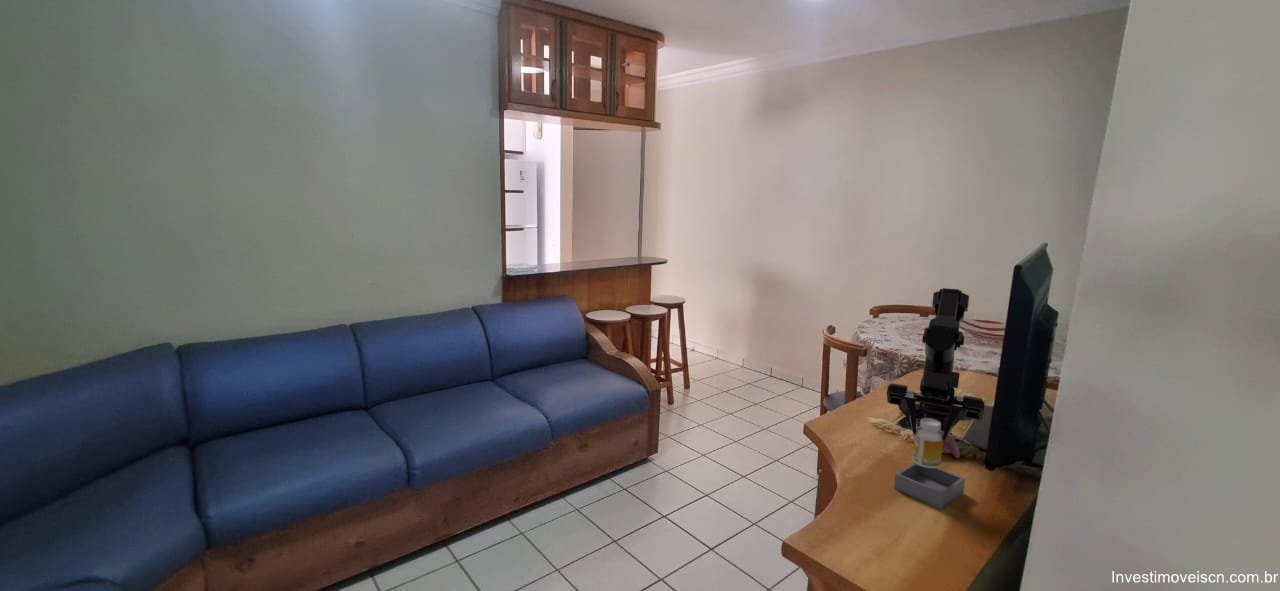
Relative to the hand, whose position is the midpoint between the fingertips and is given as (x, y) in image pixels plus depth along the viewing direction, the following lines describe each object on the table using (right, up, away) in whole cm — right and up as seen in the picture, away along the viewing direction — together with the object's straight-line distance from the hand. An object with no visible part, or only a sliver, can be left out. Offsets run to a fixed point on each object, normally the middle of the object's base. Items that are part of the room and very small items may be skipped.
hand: (928, 437), depth 116 cm
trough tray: (+2, -13, +3) cm, 13 cm away
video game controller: (+12, -10, +20) cm, 26 cm away
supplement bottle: (+1, -6, +2) cm, 7 cm away
